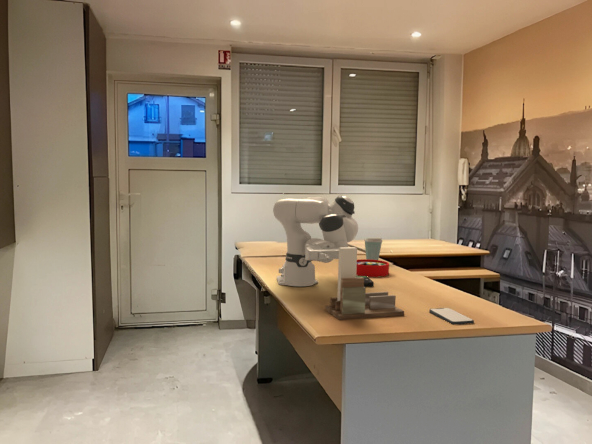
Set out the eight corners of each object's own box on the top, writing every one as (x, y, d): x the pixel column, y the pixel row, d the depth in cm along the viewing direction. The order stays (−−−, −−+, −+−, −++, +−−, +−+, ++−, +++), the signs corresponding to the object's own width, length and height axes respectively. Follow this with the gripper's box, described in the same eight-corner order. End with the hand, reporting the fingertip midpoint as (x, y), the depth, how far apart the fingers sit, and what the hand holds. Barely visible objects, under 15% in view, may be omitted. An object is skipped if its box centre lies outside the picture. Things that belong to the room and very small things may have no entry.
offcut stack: (340, 312, 164) (341, 278, 163) (361, 310, 167) (362, 277, 166) (343, 314, 161) (344, 279, 160) (364, 313, 164) (365, 279, 163)
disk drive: (374, 288, 213) (366, 281, 228) (374, 282, 213) (366, 275, 228) (351, 288, 212) (345, 281, 227) (351, 282, 212) (345, 275, 227)
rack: (324, 309, 173) (325, 293, 172) (385, 305, 180) (386, 290, 180) (339, 319, 160) (339, 302, 159) (404, 315, 167) (404, 298, 167)
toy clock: (359, 266, 234) (344, 259, 253) (359, 277, 234) (344, 270, 253) (396, 265, 239) (378, 258, 258) (395, 276, 239) (378, 269, 259)
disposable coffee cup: (359, 262, 280) (360, 237, 279) (371, 260, 287) (372, 236, 286) (373, 264, 272) (374, 238, 271) (385, 262, 279) (386, 237, 278)
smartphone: (475, 325, 160) (448, 311, 175) (475, 320, 159) (449, 307, 175) (452, 326, 157) (427, 312, 173) (452, 322, 157) (427, 308, 173)
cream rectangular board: (337, 308, 169) (338, 247, 168) (352, 307, 171) (354, 247, 169) (339, 309, 167) (341, 248, 165) (355, 308, 169) (357, 248, 167)
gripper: (347, 258, 196) (362, 263, 183) (301, 260, 190) (313, 265, 177) (348, 243, 196) (363, 247, 183) (301, 244, 189) (314, 249, 176)
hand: (338, 256), depth 180 cm, fingers open, 8 cm apart
